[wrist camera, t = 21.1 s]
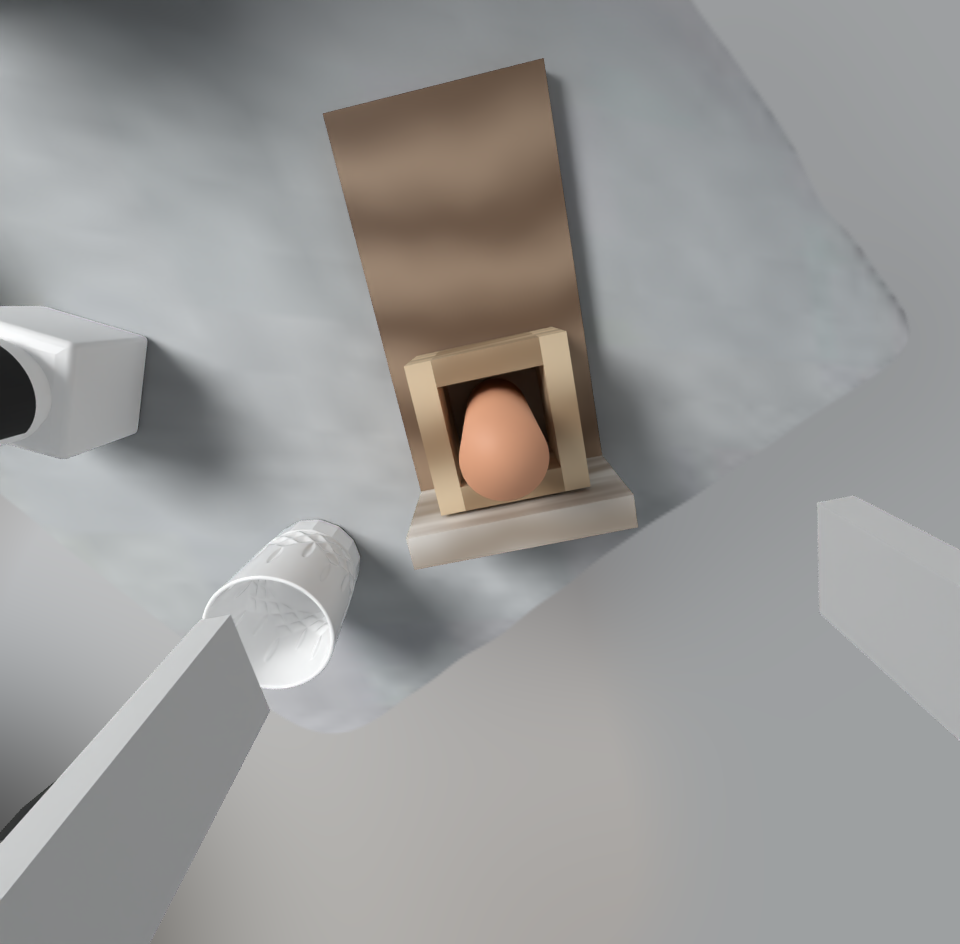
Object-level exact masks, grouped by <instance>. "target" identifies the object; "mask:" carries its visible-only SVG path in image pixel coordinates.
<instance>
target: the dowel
mask: <svg viewBox="0 0 960 944" xmlns="http://www.w3.org/2000/svg"><path fill="white" fill-rule="evenodd" d="M459 465H460V469H461V472H462V475H463V477H464V479H465V481H466V482H467V484H468V485H469V486H470V487H471V488H472V489H473V490H474V491H475V492H477V493H478V494H480V495H481V496H483V497H485V498H488V499H491V500H496V501H512V500H516V499H519V498H522V497H524V496H526V495H528V494H529V493H531V492H532V491H533V490H535V489H536V488H537V487H538V486H539V484H540V483H541V482H542V480H543V479H544V477H545V475H546V472H547V469H548V465H549V449H548V445H547V442H546V440H545V438H544V435H543V434H542V432H541V430H540V428H539V426H538V424H537V422H536V420H535V418H534V416H533V414H532V412H531V410H530V408H529V406H528V404H527V402H526V400H525V398H524V396H523V394H522V392H521V390H520V389H519V388H518V387H517V386H516V385H515V384H514V383H512V382H510V381H508V380H506V379H502V378H491V379H487V380H485V381H483V382H481V383H479V384H478V385H477V386H476V387H475V388H474V389H473V390H472V392H471V393H470V395H469V398H468V402H467V407H466V414H465V420H464V426H463V433H462V439H461V445H460V451H459Z"/></svg>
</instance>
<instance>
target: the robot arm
mask: <svg viewBox="0 0 960 944" xmlns="http://www.w3.org/2000/svg"><path fill="white" fill-rule="evenodd" d="M817 524H818V525H817V526H818V577H819V613H820V614H821V615H822V616H823V617H824V618H825V619H826V620H827V621H828V622H830V623H831V624H832V625H833V626H834V627H835V628H836V629H838V631H839V632H841V633H842V634H843V635H844V636H845V637H846V638H847V639H848V640H849V641H850V642H851V643H853V644H854V645H855V646H856V647H857V648H858V649H859V650H860V651H861V652H862V653H863V654H865V655H866V656H867V657H868V658H869V659H870V660H871V661H872V662H873V663H874V664H875V665H877V666H878V667H879V668H880V669H881V670H882V671H883V672H884V673H885V674H886V675H888V676H889V677H890V678H891V679H892V680H893V681H894V682H895V683H896V684H897V685H898V686H900V687H901V688H902V689H903V690H904V691H905V692H906V693H908V695H909V696H911V697H912V698H913V699H914V700H915V701H916V702H917V703H918V704H919V705H920V706H922V707H923V708H924V709H925V710H926V711H927V712H928V713H929V714H930V715H931V716H932V717H933V718H935V719H936V720H937V721H938V722H939V723H940V724H941V725H943V727H944V728H946V729H947V730H948V731H949V732H950V733H951V734H952V735H953V736H954V737H955V738H957V739H958V740H959V741H960V549H958V548H956V547H954V546H952V545H950V544H948V543H946V542H944V541H942V540H940V539H938V538H936V537H934V536H932V535H930V534H928V533H926V532H925V531H923V530H921V529H919V528H917V527H915V526H913V525H911V524H909V523H907V522H905V521H903V520H901V519H899V518H897V517H895V516H893V515H891V514H889V513H887V512H885V511H884V510H882V509H880V508H878V507H876V506H874V505H872V504H870V503H868V502H866V501H864V500H862V499H860V498H858V497H856V496H854V495H853V496H848V497H843V498H837V499H832V500H827V501H822V502H817ZM269 712H270V709H269V707H268V704H267V702H266V699H265V697H264V694H263V692H262V690H261V687H260V685H259V682H258V680H257V677H256V675H255V672H254V670H253V668H252V665H251V663H250V660H249V658H248V655H247V653H246V651H245V648H244V646H243V643H242V641H241V638H240V636H239V633H238V631H237V629H236V626H235V624H234V621H233V619H232V616H231V614H229V615H224V616H219V617H214V618H208V619H203V620H199V621H198V622H197V623H196V624H195V625H194V626H193V628H192V629H191V630H190V631H189V632H188V633H187V634H186V635H185V637H184V638H183V639H182V640H181V641H180V642H179V643H178V645H177V646H176V647H175V648H174V649H173V650H172V651H171V652H170V653H169V655H168V656H167V657H166V658H165V659H164V660H163V661H162V663H161V664H160V665H159V666H158V667H157V668H156V669H155V671H153V673H152V674H151V675H150V676H149V677H148V678H147V679H146V680H145V682H144V683H143V684H142V685H141V686H140V687H139V688H138V690H137V691H136V692H135V693H134V694H133V695H132V696H131V697H130V698H129V700H128V701H127V702H126V703H125V704H124V705H123V706H122V707H121V709H120V710H119V711H118V712H117V713H116V714H115V715H114V717H113V718H112V719H111V720H110V721H109V722H108V723H107V724H106V725H105V727H104V728H103V729H102V730H101V731H100V732H99V733H98V734H97V736H96V737H95V738H94V739H93V740H92V741H91V742H90V744H89V745H88V746H87V747H86V748H85V749H84V750H83V751H82V752H81V753H80V755H79V756H78V757H77V758H76V759H75V760H74V762H73V763H72V764H71V765H70V766H69V767H68V768H67V770H65V771H64V773H63V774H62V775H61V776H60V777H59V778H58V779H57V780H56V781H55V782H54V783H52V784H51V785H50V786H49V787H48V788H46V789H45V790H44V791H43V792H41V793H40V794H39V795H38V796H36V797H35V798H34V799H33V800H32V801H30V802H29V803H28V804H27V805H26V806H24V807H23V808H22V809H21V810H20V811H19V812H18V813H17V814H16V815H15V817H14V818H13V819H12V820H11V821H10V822H9V823H8V824H7V825H6V826H5V828H4V829H3V830H2V831H1V832H0V944H150V942H151V940H152V938H153V936H154V934H155V932H156V930H157V928H158V926H159V924H160V923H161V921H162V919H163V917H164V915H165V913H166V911H167V909H168V907H169V905H170V903H171V901H172V899H173V897H174V895H175V894H176V892H177V890H178V888H179V886H180V884H181V882H182V880H183V878H184V876H185V874H186V872H187V870H188V868H189V866H190V865H191V862H192V861H193V859H194V857H195V855H196V853H197V851H198V849H199V847H200V845H201V843H202V841H203V839H204V838H205V835H206V834H207V832H208V830H209V828H210V826H211V824H212V822H213V820H214V818H215V816H216V814H217V812H218V810H219V808H220V807H221V805H222V803H223V801H224V799H225V797H226V795H227V793H228V791H229V789H230V787H231V785H232V783H233V781H234V779H235V778H236V776H237V774H238V772H239V770H240V768H241V766H242V764H243V762H244V760H245V758H246V756H247V754H248V752H249V750H250V748H251V747H252V745H253V743H254V741H255V739H256V737H257V735H258V733H259V731H260V729H261V727H262V725H263V723H264V722H265V720H266V718H267V716H268V713H269Z"/></svg>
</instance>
